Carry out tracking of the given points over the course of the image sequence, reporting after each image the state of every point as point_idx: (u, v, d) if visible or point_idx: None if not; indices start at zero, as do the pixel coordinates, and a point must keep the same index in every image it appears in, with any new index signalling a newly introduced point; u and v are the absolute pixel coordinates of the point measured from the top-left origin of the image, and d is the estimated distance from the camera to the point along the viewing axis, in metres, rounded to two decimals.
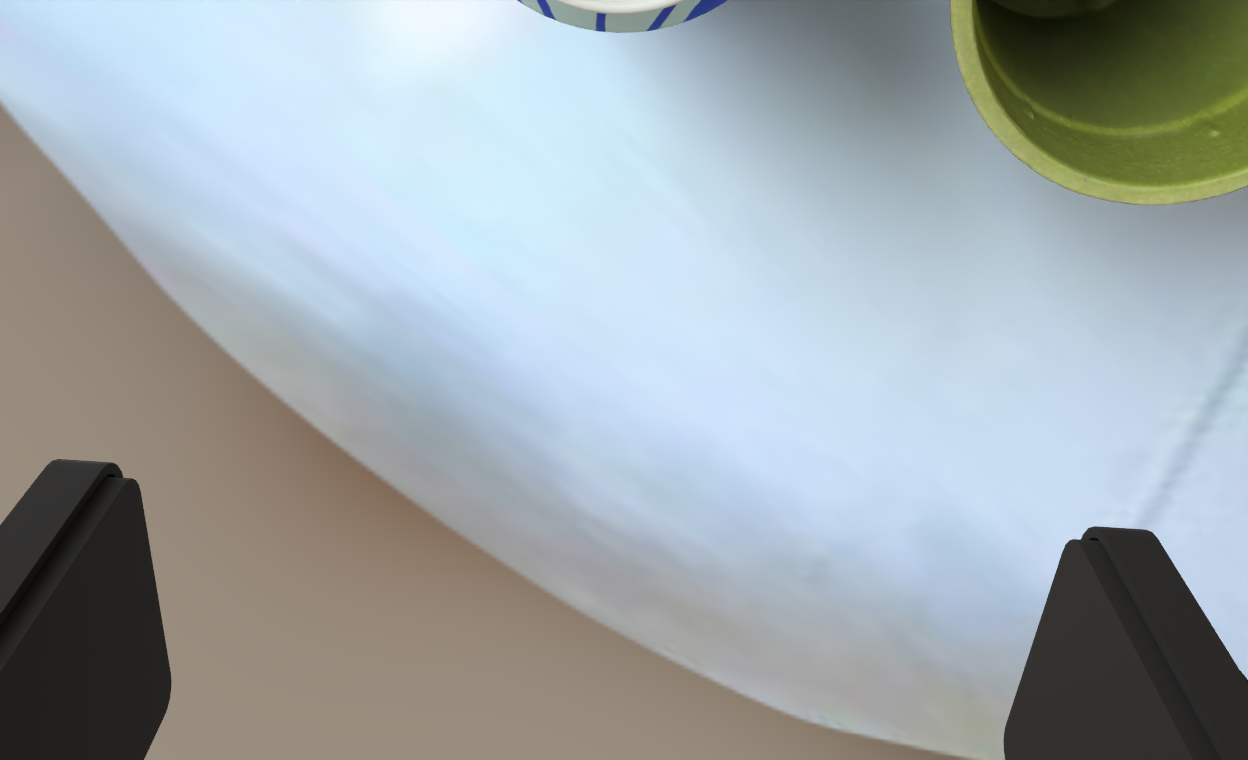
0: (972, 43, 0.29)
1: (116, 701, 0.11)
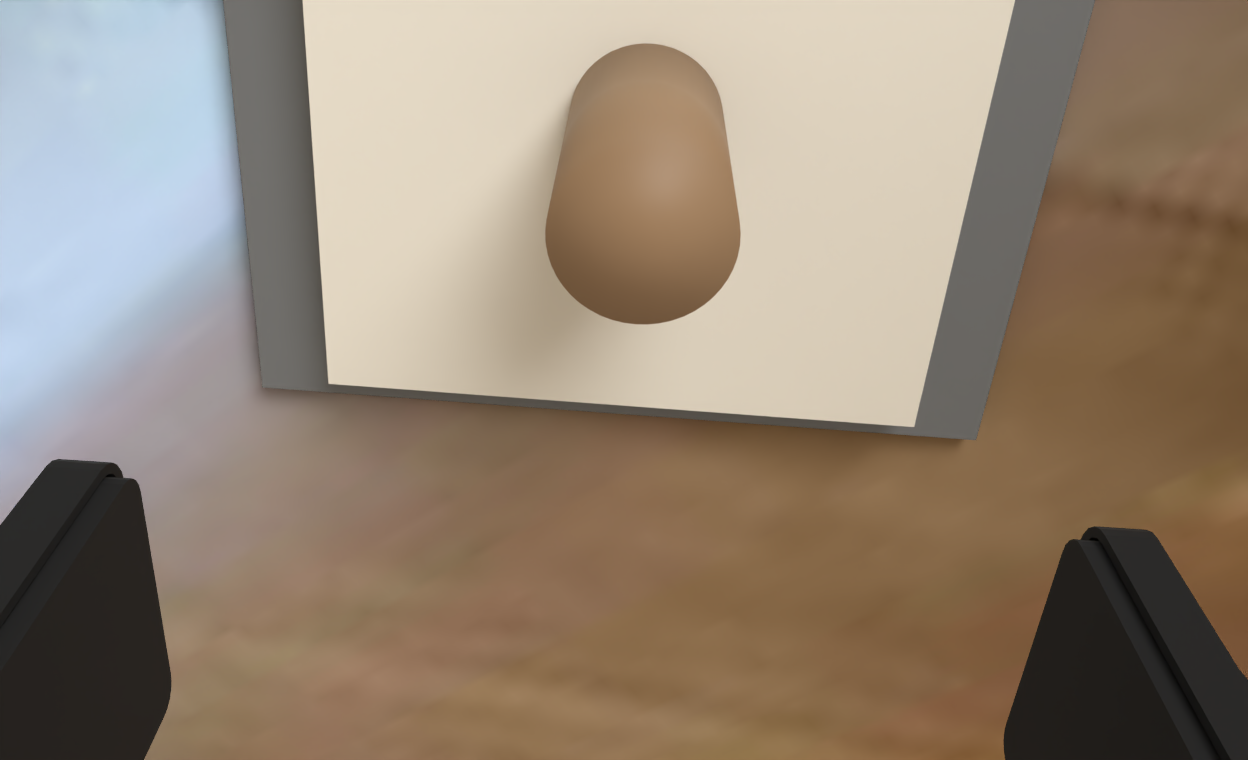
0: None
1: (116, 701, 0.11)
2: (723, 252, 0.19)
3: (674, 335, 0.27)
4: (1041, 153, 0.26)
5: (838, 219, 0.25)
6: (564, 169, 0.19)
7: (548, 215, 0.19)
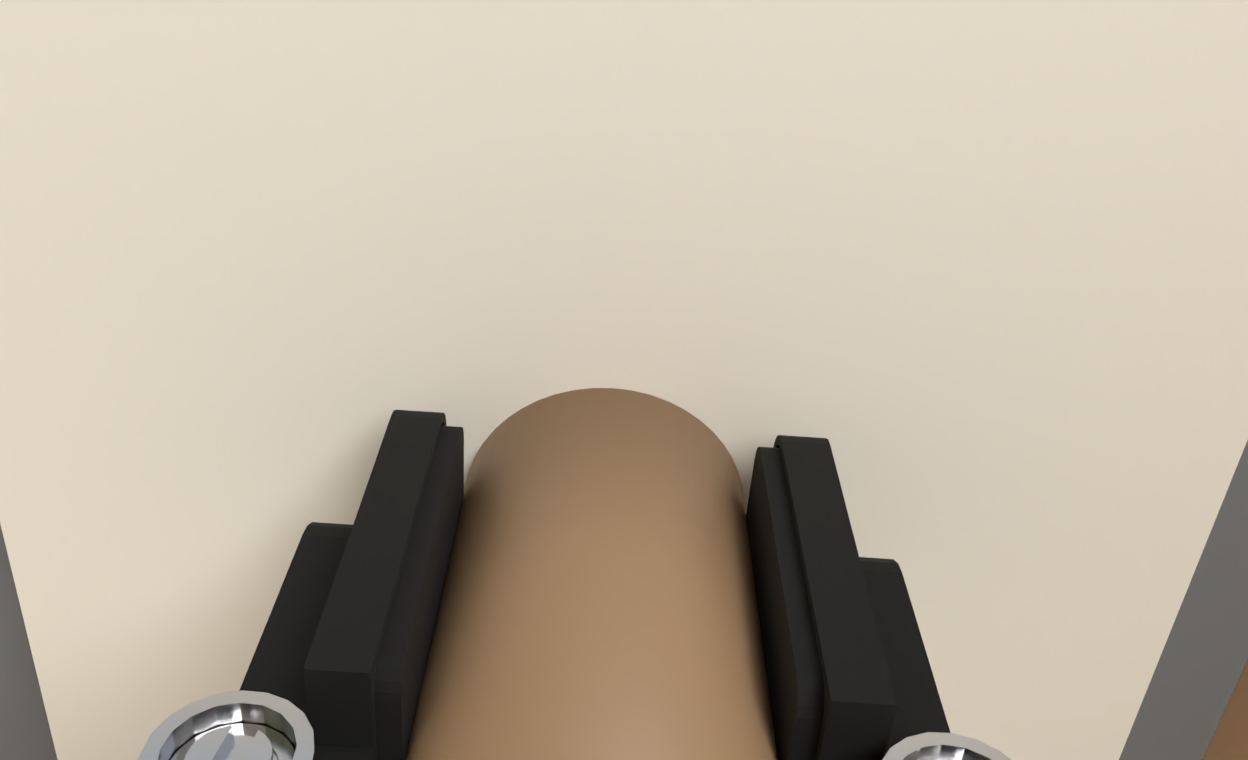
0: None
1: None
2: None
3: None
4: None
5: (944, 652, 0.14)
6: None
7: None
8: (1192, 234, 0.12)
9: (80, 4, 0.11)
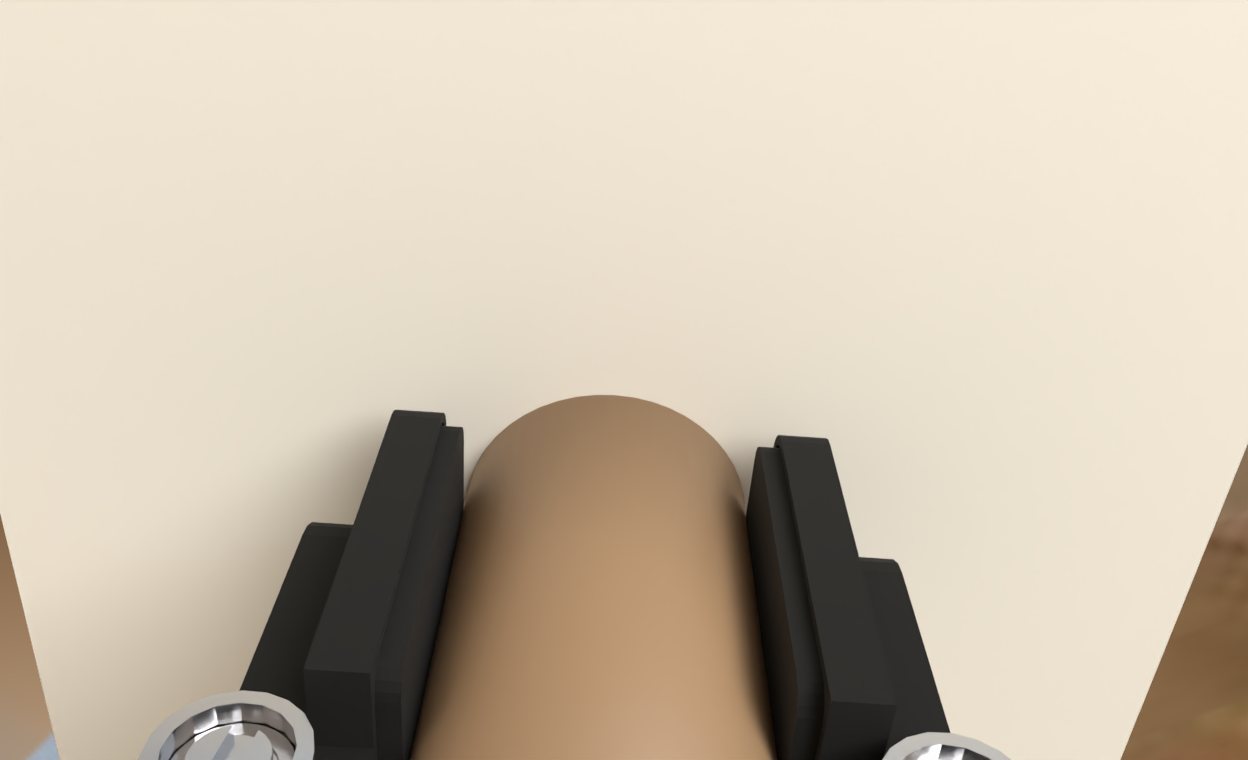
0: None
1: None
2: None
3: None
4: None
5: (944, 657, 0.15)
6: None
7: None
8: (1191, 242, 0.12)
9: (84, 14, 0.11)
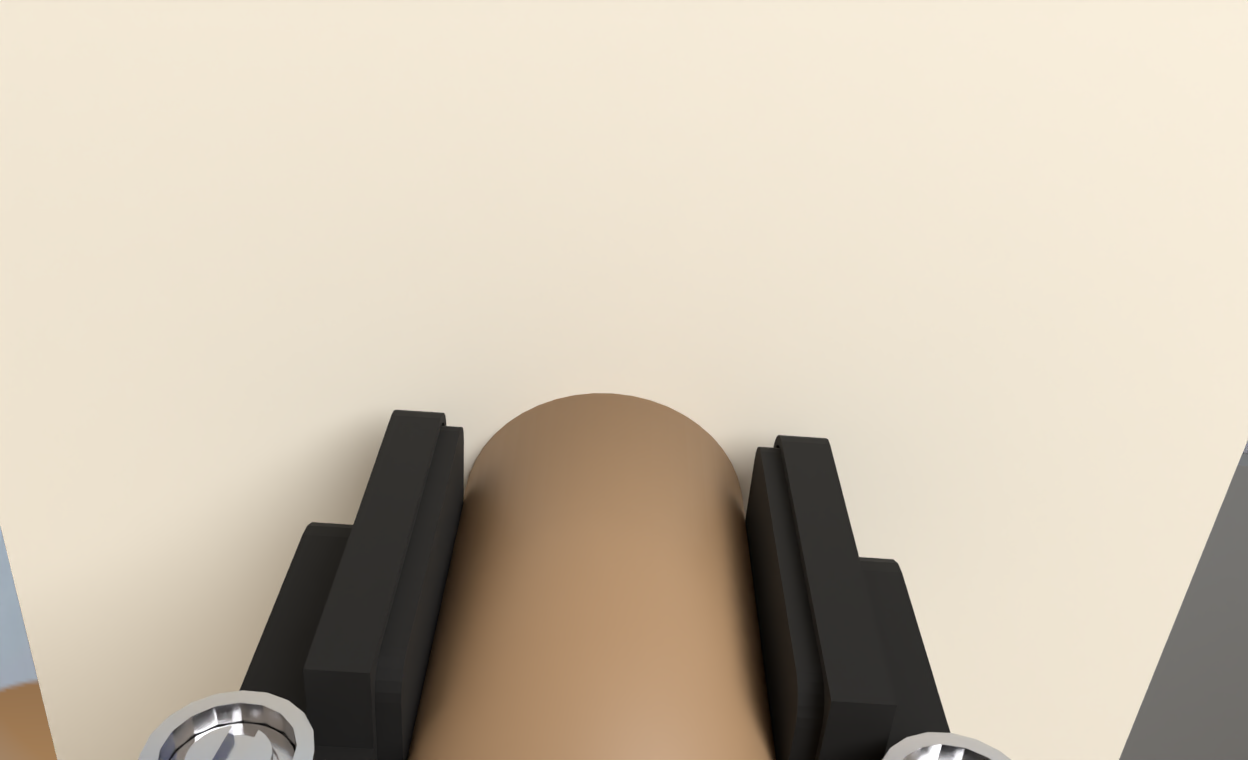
0: None
1: None
2: None
3: None
4: None
5: (942, 656, 0.14)
6: None
7: None
8: (1190, 240, 0.12)
9: (81, 11, 0.11)
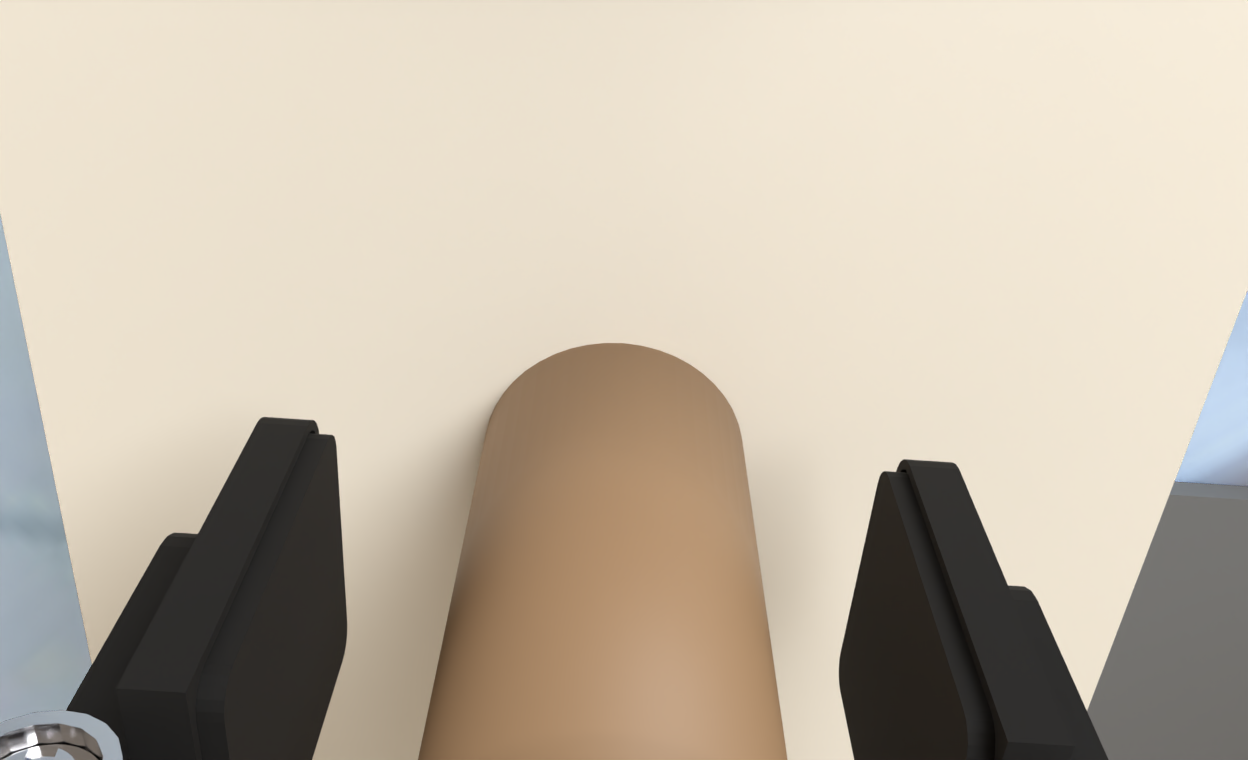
0: None
1: (318, 640, 0.12)
2: None
3: None
4: None
5: None
6: (439, 728, 0.09)
7: None
8: (1155, 201, 0.13)
9: None
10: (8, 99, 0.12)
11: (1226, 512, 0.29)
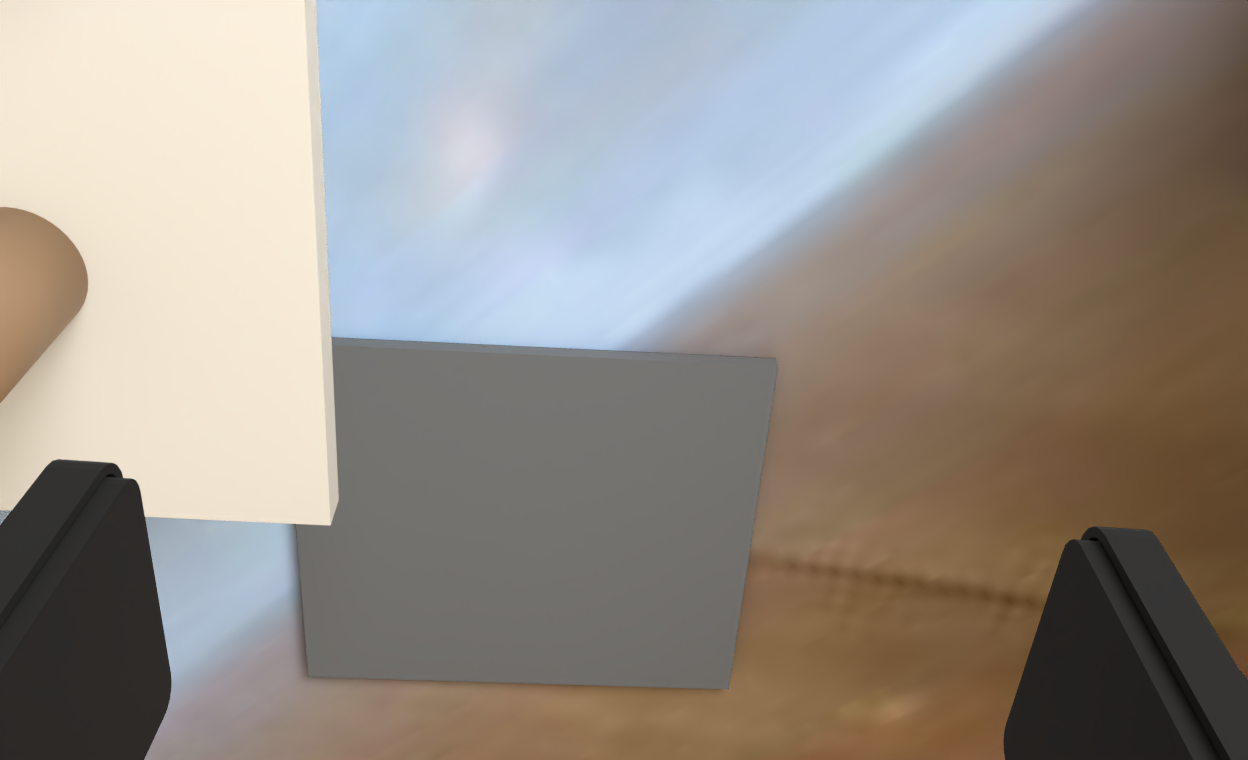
0: None
1: (116, 701, 0.11)
2: None
3: (92, 451, 0.30)
4: (743, 549, 0.47)
5: (212, 351, 0.29)
6: None
7: None
8: (249, 129, 0.26)
9: None
10: None
11: (636, 369, 0.43)
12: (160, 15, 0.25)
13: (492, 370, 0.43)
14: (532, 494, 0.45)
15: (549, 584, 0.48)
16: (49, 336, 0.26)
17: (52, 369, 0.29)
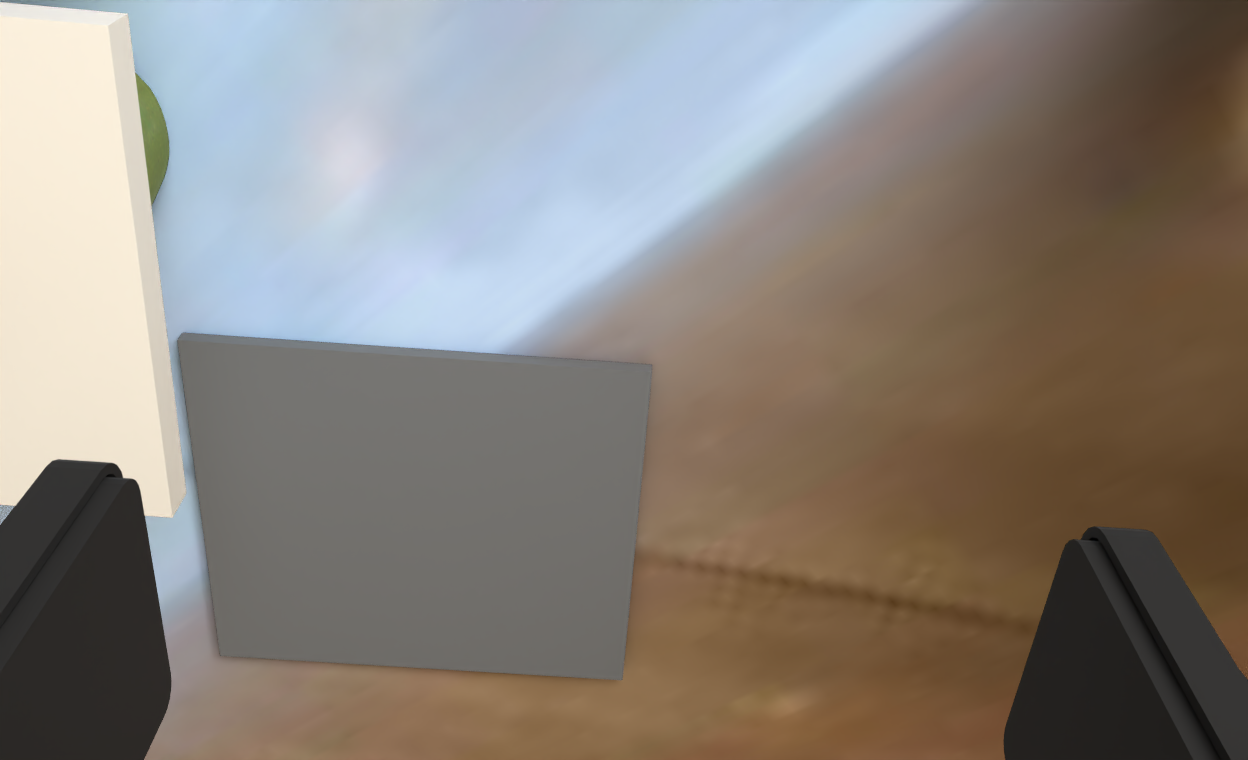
0: None
1: (116, 701, 0.11)
2: None
3: None
4: (628, 546, 0.49)
5: (50, 354, 0.31)
6: None
7: None
8: (68, 153, 0.28)
9: None
10: None
11: (515, 372, 0.45)
12: None
13: (378, 370, 0.45)
14: (423, 488, 0.48)
15: (444, 574, 0.50)
16: None
17: None
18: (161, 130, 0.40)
